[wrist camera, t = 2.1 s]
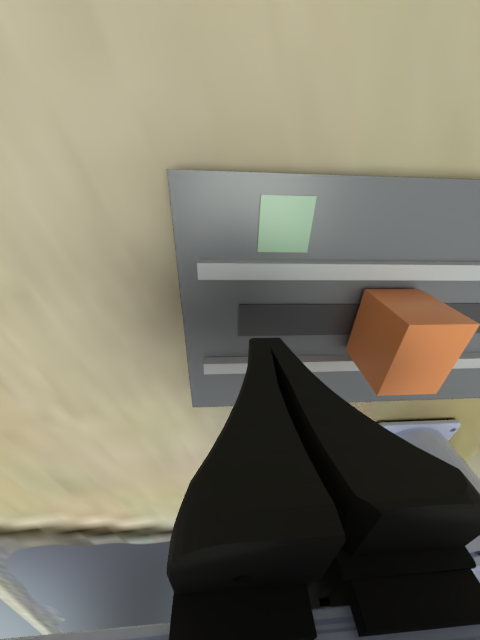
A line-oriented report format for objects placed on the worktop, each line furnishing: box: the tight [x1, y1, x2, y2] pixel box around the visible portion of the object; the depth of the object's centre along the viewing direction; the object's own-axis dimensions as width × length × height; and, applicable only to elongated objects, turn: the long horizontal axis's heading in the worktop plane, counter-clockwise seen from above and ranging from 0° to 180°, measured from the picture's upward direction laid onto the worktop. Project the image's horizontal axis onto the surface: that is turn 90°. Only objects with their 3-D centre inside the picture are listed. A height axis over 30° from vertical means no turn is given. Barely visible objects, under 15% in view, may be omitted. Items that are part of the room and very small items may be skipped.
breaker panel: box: [167, 169, 480, 407], centre depth 15 cm, size 14×22×3 cm, turn 88°
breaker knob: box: [346, 289, 480, 396], centre depth 12 cm, size 4×3×4 cm
